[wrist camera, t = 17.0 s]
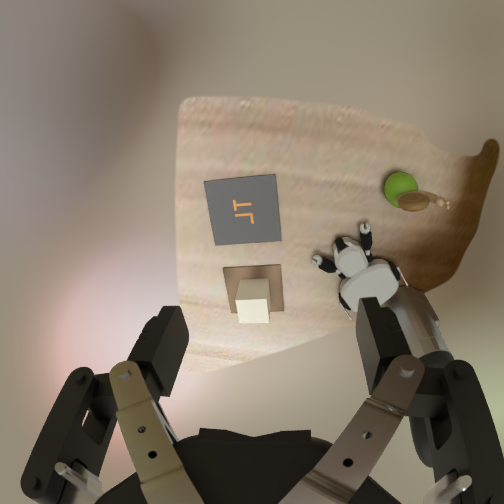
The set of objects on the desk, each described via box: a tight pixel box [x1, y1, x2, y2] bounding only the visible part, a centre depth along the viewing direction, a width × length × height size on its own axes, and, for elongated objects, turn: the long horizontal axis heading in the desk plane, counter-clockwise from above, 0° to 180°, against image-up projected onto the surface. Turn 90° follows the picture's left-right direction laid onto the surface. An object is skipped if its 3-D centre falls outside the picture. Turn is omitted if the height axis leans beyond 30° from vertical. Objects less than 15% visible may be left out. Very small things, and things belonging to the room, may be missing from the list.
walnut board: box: [223, 264, 284, 313], centre depth 54 cm, size 10×10×1 cm
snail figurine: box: [384, 172, 450, 212], centre depth 37 cm, size 5×6×12 cm
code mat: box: [204, 174, 281, 245], centre depth 47 cm, size 11×11×1 cm
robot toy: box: [311, 223, 408, 321], centre depth 48 cm, size 12×4×15 cm
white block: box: [235, 278, 271, 324], centre depth 51 cm, size 5×5×6 cm
